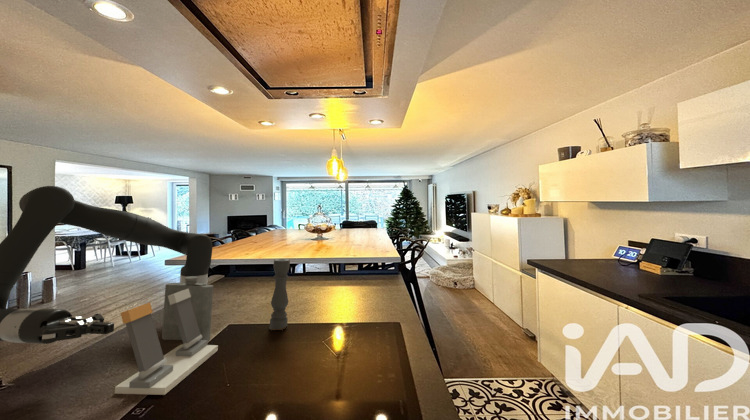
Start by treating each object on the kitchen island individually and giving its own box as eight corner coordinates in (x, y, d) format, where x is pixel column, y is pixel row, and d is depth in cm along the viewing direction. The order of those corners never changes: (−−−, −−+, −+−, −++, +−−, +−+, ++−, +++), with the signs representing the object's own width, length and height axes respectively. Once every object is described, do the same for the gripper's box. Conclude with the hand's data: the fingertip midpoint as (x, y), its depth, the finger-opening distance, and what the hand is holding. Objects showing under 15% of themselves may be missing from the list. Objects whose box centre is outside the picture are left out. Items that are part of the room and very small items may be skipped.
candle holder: (268, 331, 101) (272, 261, 102) (270, 325, 107) (273, 258, 108) (286, 330, 102) (290, 261, 104) (287, 324, 108) (290, 258, 109)
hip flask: (159, 339, 91) (163, 276, 92) (169, 334, 95) (173, 274, 96) (205, 342, 90) (209, 279, 91) (213, 337, 94) (217, 277, 95)
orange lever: (139, 379, 63) (120, 312, 64) (160, 365, 70) (142, 304, 70) (147, 377, 63) (128, 310, 64) (167, 363, 70) (150, 302, 70)
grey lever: (183, 349, 78) (167, 295, 79) (197, 340, 85) (182, 290, 85) (189, 347, 78) (173, 293, 79) (203, 338, 85) (188, 288, 85)
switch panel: (113, 394, 63) (114, 381, 63) (181, 348, 85) (182, 339, 85) (163, 395, 63) (164, 382, 63) (218, 350, 85) (218, 340, 85)
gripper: (2, 318, 60) (84, 321, 60) (68, 301, 73) (136, 304, 73) (-3, 354, 59) (80, 357, 60) (65, 331, 73) (133, 334, 73)
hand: (111, 328), depth 67 cm, fingers closed
